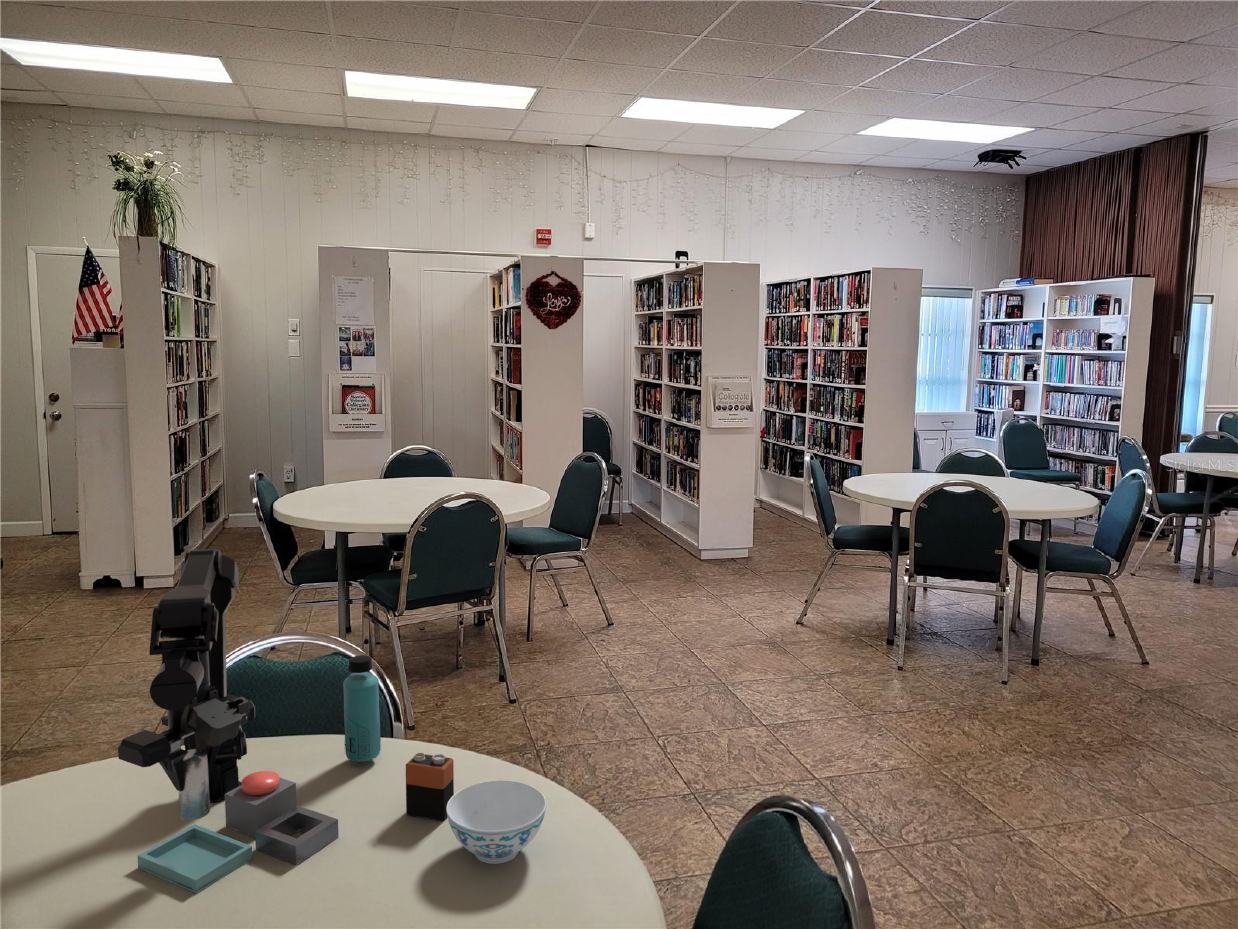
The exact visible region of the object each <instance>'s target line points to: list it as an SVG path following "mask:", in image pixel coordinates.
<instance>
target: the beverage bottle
mask: <svg viewBox="0 0 1238 929" xmlns="http://www.w3.org/2000/svg"><path fill="white" fill-rule="evenodd" d="M372 669H373V663H372V657H371V656H369V655H366V654H365V655H364V654H363V655H362V654H361V655H360V654H359V655H354V656H352V657H350V658H349V660H348V671H349V672H350V673H351V674H349V675H348V676H347V677H346V678H345V679H344V680H343V683H342V686H343V714H344V716H343V717H344V718H343V719H344V726H343V727H344V740H343V741H344V742H343V743H344V751H345V756H346V758H347V759H348V760H349V761H352V762H359V763H361V762H369V761H371V760H374V759H376V758H377V757H378V756H379V755H380V753H381V750H382V749H381V747H382V743H381V736H382V735H381V715H380V701H379V700H380V696H379V694H380V692H379V678H378V677H377V676H376V675H374V674H373V673H371V672H370V671H371V670H372Z"/></svg>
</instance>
